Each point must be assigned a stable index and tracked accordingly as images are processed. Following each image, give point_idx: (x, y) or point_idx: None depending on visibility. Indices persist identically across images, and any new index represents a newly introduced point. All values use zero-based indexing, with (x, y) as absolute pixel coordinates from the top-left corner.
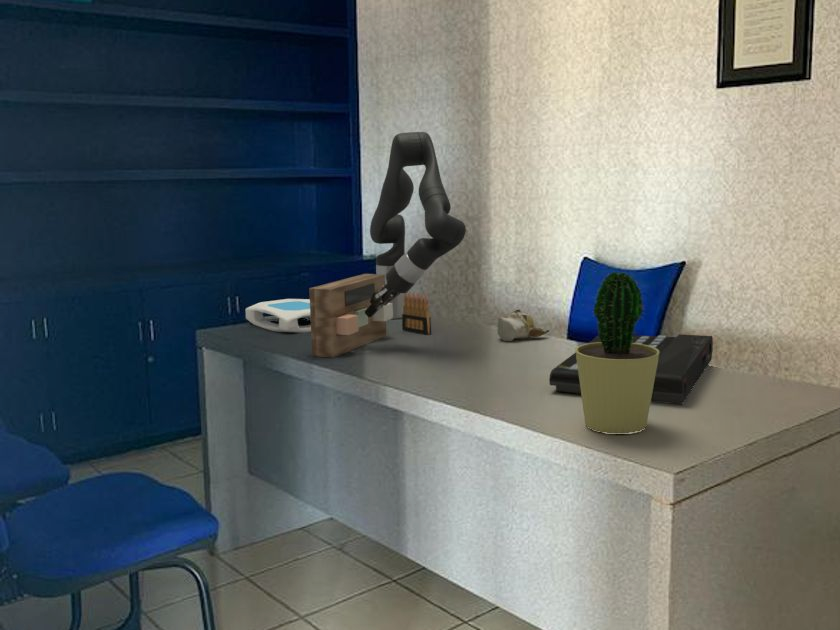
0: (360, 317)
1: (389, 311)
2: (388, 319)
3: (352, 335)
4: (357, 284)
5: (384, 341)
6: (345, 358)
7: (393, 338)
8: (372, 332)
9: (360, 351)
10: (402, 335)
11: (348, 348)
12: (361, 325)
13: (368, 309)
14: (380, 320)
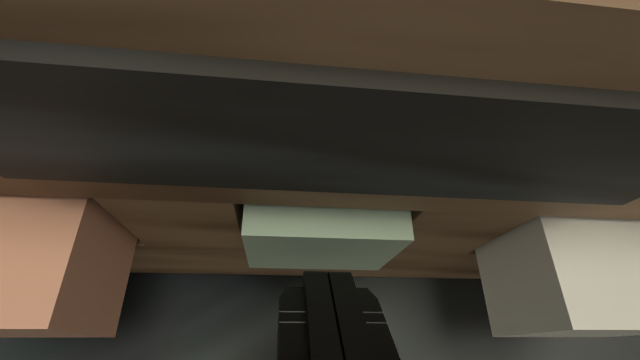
0: (278, 252)
1: (615, 333)
2: (554, 336)
3: (209, 256)
4: (335, 20)
5: (441, 335)
6: (4, 341)
7: (519, 346)
8: (432, 267)
9: (188, 333)
10: (598, 356)
11: (174, 269)
12: (288, 267)
13: (280, 324)
14: (490, 305)
